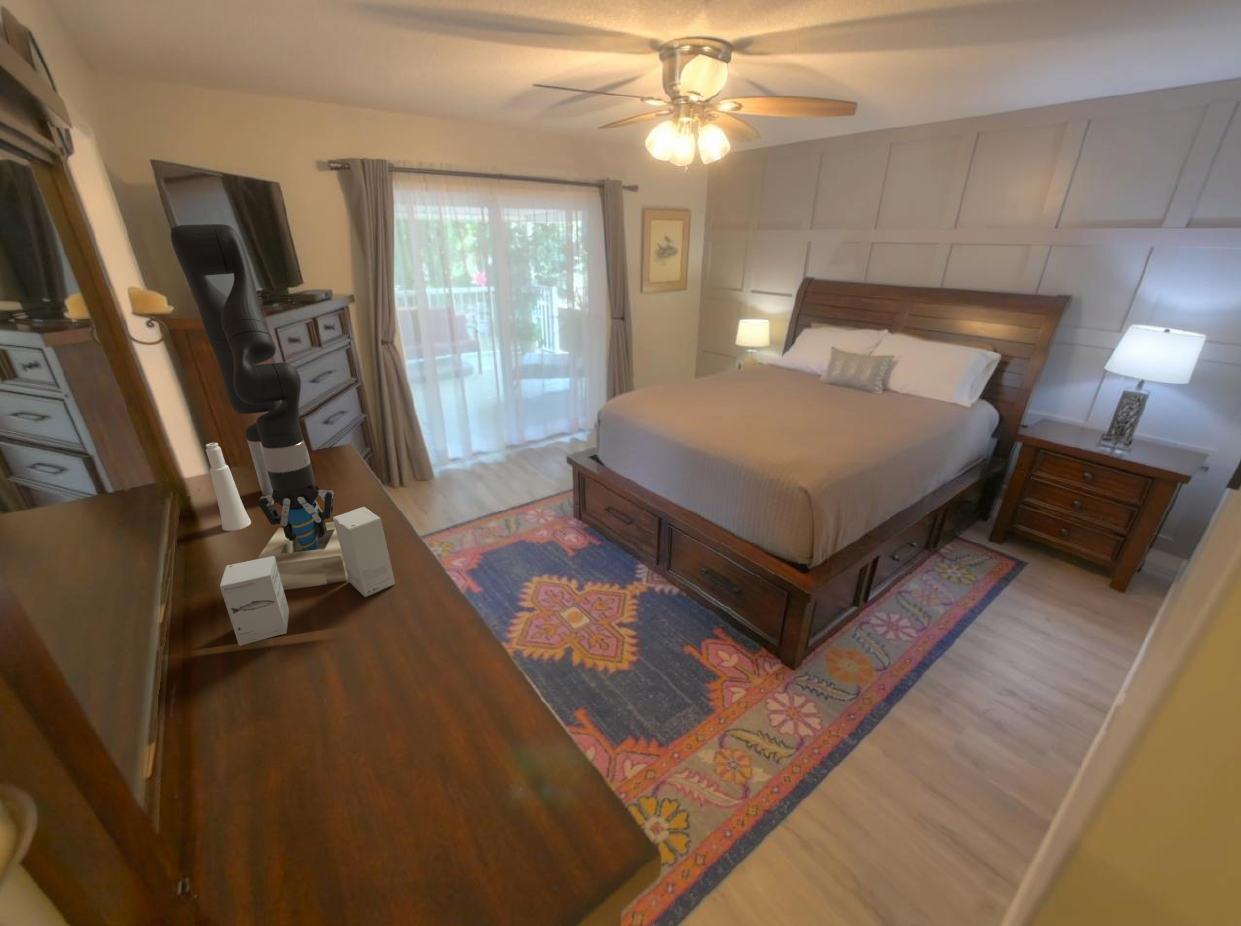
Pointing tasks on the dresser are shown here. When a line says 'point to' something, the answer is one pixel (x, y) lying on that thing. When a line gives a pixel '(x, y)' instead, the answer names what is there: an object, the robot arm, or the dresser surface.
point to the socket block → (307, 560)
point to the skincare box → (364, 550)
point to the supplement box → (255, 599)
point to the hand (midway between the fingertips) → (307, 537)
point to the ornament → (304, 528)
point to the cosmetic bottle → (226, 491)
